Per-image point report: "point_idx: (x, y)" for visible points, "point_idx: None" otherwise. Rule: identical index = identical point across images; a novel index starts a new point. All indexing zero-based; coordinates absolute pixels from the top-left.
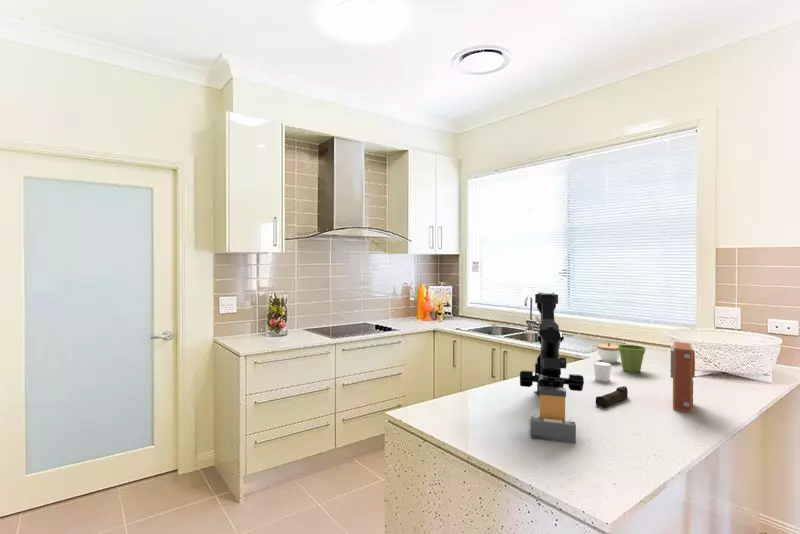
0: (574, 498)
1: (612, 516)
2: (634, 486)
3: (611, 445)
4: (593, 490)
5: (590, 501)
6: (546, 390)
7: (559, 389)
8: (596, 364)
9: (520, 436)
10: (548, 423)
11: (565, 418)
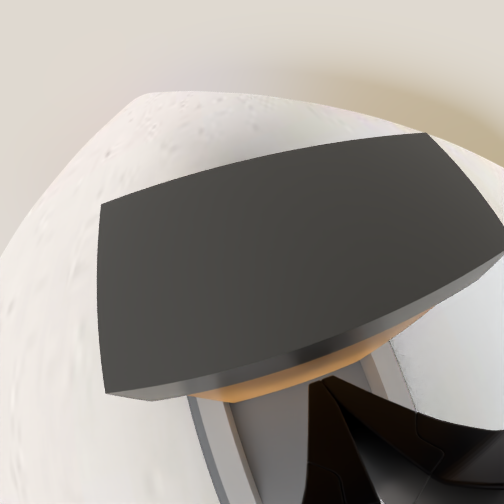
0: (177, 98)
1: (135, 99)
2: (78, 166)
3: (65, 352)
4: (147, 122)
5: (156, 104)
6: (360, 145)
7: (196, 234)
8: None
9: None
10: None
11: (237, 473)
